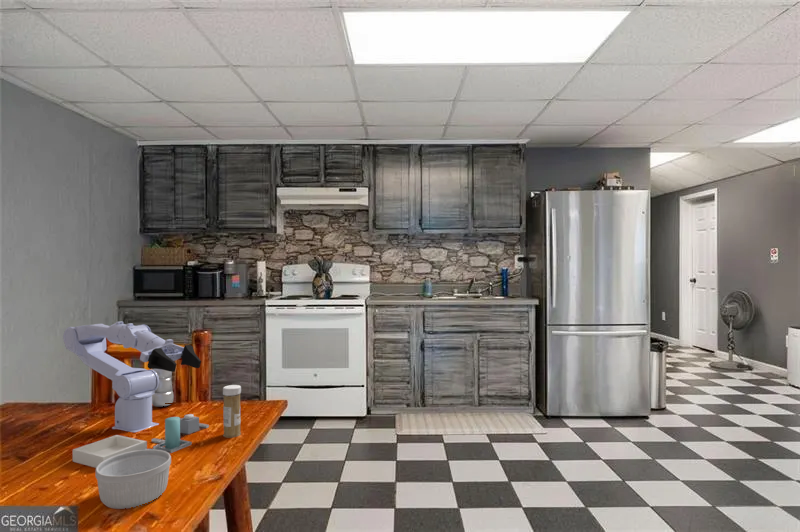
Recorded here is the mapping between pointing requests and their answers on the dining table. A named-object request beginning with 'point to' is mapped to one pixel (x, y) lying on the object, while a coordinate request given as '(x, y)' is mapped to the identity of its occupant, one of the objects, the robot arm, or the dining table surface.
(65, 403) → the dining table surface
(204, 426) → the rail
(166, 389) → the plastic bottle
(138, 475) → the ramekin
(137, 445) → the tray
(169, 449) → the block
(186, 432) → the carriage
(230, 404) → the sprinkles bottle
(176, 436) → the pin
